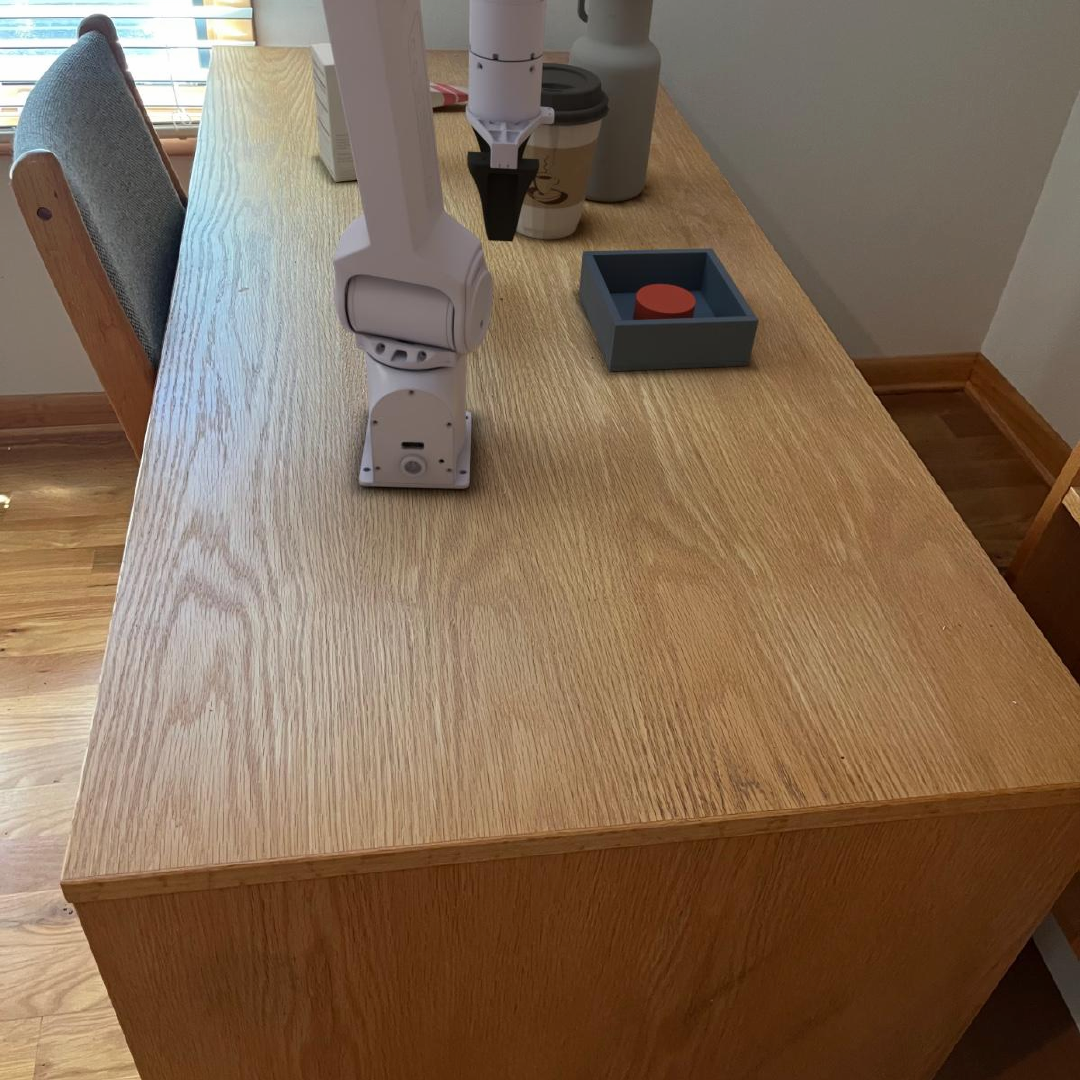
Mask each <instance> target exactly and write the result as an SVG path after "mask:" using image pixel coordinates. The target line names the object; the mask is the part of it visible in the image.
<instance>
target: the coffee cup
mask: <svg viewBox="0 0 1080 1080" xmlns="http://www.w3.org/2000/svg"><path fill="white" fill-rule="evenodd" d="M608 102H609V99H608V97H607V95H606V93H605V92H604V91H603V90H601V81H600V79H599V77H598V76H596V75H595V74H594V73H592V72H591V71H588V70H585V69H583V68H580V67H576V66H571V65H569V64H566V63H558V62H543V66H542V84H541V101H540V106H541V107H550V108H553V110H554V123H553V124H541V125H539V126H538V127H537V128H536V129H535V130H534V131H533V132H532V134H531V136H530V138H529V140H528V142H527V145H526V147H525V150H524V153H523V157H522V158H526V159H539V170H538V173H537V175H536V177H535V179H534V180H533V182H532V183H531V185H530V187H529V189H528V191H527V193H526V196H525V198H524V201H523V205H522V208H521V213H520V217H519V221H518V226H517V229H516V233H519V234H520V235H522V236H526V237H529V238H533V239H538V240H557V239H563V238H566V237H568V236H571V235H572V234H574V233H575V232H576V230H577V227H578V224H579V223H580V220H581V217H582V212H583V207H584V203H585V200H586V199H585V194H586V190H587V185H588V181H589V176H590V172H591V167H592V162H593V158H594V153H595V149H596V144H597V140H598V135H599V131H600V126H601V122H602V118H603V117H605V116H607V114H608V111H609V108H608Z"/></svg>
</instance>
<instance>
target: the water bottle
mask: <svg viewBox="0 0 1080 1080" xmlns="http://www.w3.org/2000/svg"><path fill="white" fill-rule="evenodd" d="M653 4H654V0H588V8H587V9H588V10H587V12H586V8H585V7H586V0H577V9H576V11H577V17H578V18H579V19H580V20H581V21H582V22H583V23H585V24H586V32H585V33H584V34H583V35H582V36H580V37H578V38H577V39H576V40H575V41H574V43H572V45H571V47H570V49H569V56H568V65H571V66H576V67H580V68H583V69H585V70H588V71H591V72H592V73H594V74H595V75H596V76H598V77H599V79H600V81H601V90H603V91H604V92H605V93H606V95H607V97H608V99H609V102H608V108H609V111H608V114H607V116H605V117H603V118H602V122H601V126H600V131H599V135H598V140H597V144H596V149H595V153H594V158H593V162H592V167H591V172H590V176H589V181H588V185H587V190H586V194H585V199H584V200H590V201H594V202H603V203H615V202H622V201H627V200H630V199H632V198H634V197H636V196H638V195H639V194H640V193H641V192H642V191H643V190H644V188H645V185H646V182H647V181H646V180H647V174H648V165H649V159H650V151H651V150H650V149H651V143H652V135H653V127H654V120H655V112H656V104H657V97H658V91H659V90H658V89H659V83H660V76H661V75H660V74H661V67H662V58H661V52H660V51H659V49H658V47H657V46H656V45H655V43H654V42H652V41H651V39H650V31H651V21H652V14H653V7H654V5H653Z"/></svg>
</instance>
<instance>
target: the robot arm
mask: <svg viewBox="0 0 1080 1080" xmlns="http://www.w3.org/2000/svg"><path fill="white" fill-rule="evenodd" d="M321 2H322V8H323V13H324V18H325V25H326V29H327V33H328V39H329V43H330V44H331V49H332V54H333V59H334V64H335V70H336V75H337V80H338V85H339V90H340V95H341V100H342V105H343V110H344V115H345V120H346V125H347V130H348V135H349V141H350V146H351V151H352V156H353V161H354V166H355V171H356V176H357V186H358V191H359V196H360V201H361V207H362V213H361V214H359V215H357V217H355V218H354V219H353V220H352V221H351V222H350V223H349V224H348V225H347V227H346V228H345V230H344V231H343V233H342V235H341V237H340V239H339V241H338V243H337V246H336V248H335V251H334V253H333V256H332V265H333V272H334V287H333V288H334V289H333V303H334V310H335V314H336V316H337V318H338V320H339V322H340V325H341V327H342V328H343V329H344V331H346V332H348V333H352V334H354V340H355V348H356V349H357V350H362V351H364V355H365V371H366V385H367V387H366V388H367V402H368V403H367V404H368V405H367V406H368V420H367V426H366V431H365V432H366V434H365V438H364V439H365V440H364V443H363V444H364V445H363V451H362V457H361V462H360V463H361V464H360V469H359V475H358V483H359V485H361V486H363V487H378V488H379V487H382V488H383V487H385V488H386V487H387V488H419V489H421V488H422V489H454V490H455V489H459V490H462V489H467V488H468V487H470V480H471V479H470V478H471V477H470V474H471V452H472V451H471V447H472V418H473V415H472V412H470V411H468V410H467V372H468V371H467V369H468V368H467V366H468V365H467V364H468V356H469V355H472V353H474V352H475V351H476V350H477V349H478V348H480V346H481V345H482V343H483V341H484V339H485V338H486V335H487V332H488V328H489V325H490V321H491V317H492V311H493V303H494V280H493V279H494V278H493V276H492V274H491V272H490V270H489V267H488V266H487V263H486V255H485V252H484V250H483V242H482V241H481V240H480V238H479V237H478V236H477V235H475V234H474V233H473V232H472V231H471V230H469V229H468V228H467V227H465V226H464V225H463V224H462V223H460V222H459V221H458V220H457V219H455V218H454V217H453V216H451V215H450V214H449V213H448V212H447V211H446V210H445V205H444V198H443V189H442V180H441V171H440V163H439V155H438V147H437V145H438V144H437V137H436V129H435V120H434V111H433V110H434V109H433V108H432V101H431V92H430V84H429V82H430V77H429V76H430V75H429V68H428V58H427V50H426V49H427V48H426V41H425V33H424V23H423V15H422V8H421V7H422V6H421V0H321ZM546 11H547V0H469V27H468V28H469V29H468V33H469V34H468V36H469V38H468V39H469V40H468V88H469V97H468V101H467V102H468V104H466V106H465V119H466V121H467V122H468V123H469V124H470V126H471V129H472V131H473V133H474V135H475V138H476V141H477V144H478V148H479V151H470V150H469V151H467V156H466V165H467V168H468V171H469V174H470V176H471V177H472V179H473V182H474V184H475V186H476V189H477V191H478V192H477V193H478V195H479V200H480V203H481V211H482V217H483V223H484V229H485V233H486V237H487V240H488V241H490V242H510V243H511V242H513V241H514V239H515V236H516V233H517V231H516V229H517V226H518V221H519V217H520V213H521V208H522V205H523V201H524V198H525V196H526V193H527V191H528V189H529V187H530V185H531V183H532V182H533V180H534V179H535V177H536V175H537V173H538V170H539V159H526V158H522V157H523V153H524V150H525V147H526V145H527V142H528V140H529V138H530V136H531V134H532V132H533V131H534V130H535V129H536V128H537V127H538V126H539V125H541V124H553V123H554V110H553V108H550V107H541V106H540V101H541V84H542V66H543V63H544V49H545V48H544V47H545V30H546Z"/></svg>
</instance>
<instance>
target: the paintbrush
mask: <svg viewBox="0 0 1080 1080" xmlns="http://www.w3.org/2000/svg"><path fill="white" fill-rule="evenodd" d="M429 84H430V92H431V101H432V109H433V108H438V107H443V106H448V105H454V104H459V103H465V102H468V97H469V87H467V86H460V85H453V84H452V85H451V84H445V83H438V82H430V81H429Z"/></svg>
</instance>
